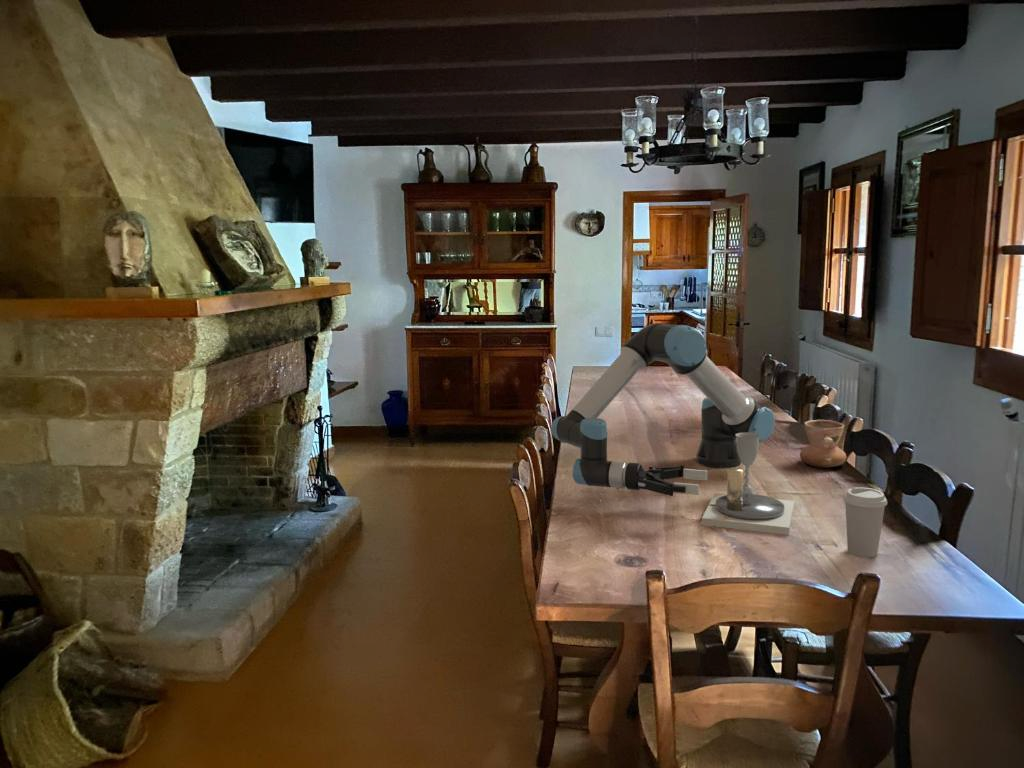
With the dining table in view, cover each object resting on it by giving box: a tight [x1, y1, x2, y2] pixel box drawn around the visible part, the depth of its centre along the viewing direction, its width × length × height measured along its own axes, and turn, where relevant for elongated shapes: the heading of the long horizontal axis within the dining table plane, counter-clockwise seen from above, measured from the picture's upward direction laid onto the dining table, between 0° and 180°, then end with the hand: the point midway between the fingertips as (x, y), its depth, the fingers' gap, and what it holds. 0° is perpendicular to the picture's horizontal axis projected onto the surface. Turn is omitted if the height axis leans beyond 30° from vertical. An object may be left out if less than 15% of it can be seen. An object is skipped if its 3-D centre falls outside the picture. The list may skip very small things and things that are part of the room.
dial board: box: [701, 492, 796, 536], centre depth 207 cm, size 22×22×2 cm
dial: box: [716, 466, 784, 520], centre depth 206 cm, size 18×18×12 cm
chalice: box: [736, 432, 760, 494], centre depth 225 cm, size 7×7×18 cm
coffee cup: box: [842, 486, 888, 559], centre depth 179 cm, size 10×10×15 cm
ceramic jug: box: [799, 419, 847, 469], centre depth 252 cm, size 18×14×14 cm
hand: (703, 482), depth 205 cm, fingers open, 13 cm apart
